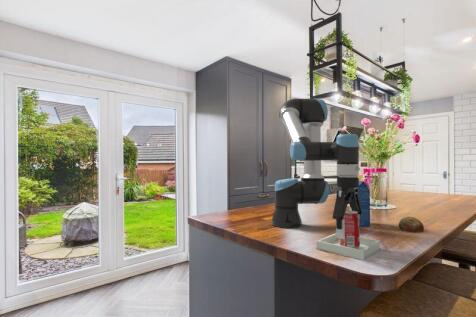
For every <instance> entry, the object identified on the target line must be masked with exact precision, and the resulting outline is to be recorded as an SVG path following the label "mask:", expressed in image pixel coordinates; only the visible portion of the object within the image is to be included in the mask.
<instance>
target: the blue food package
mask: <svg viewBox="0 0 476 317" xmlns="http://www.w3.org/2000/svg"><path fill="white" fill-rule="evenodd" d="M357 177H358V178H359V187H357V188H355V189H358V194H359V199H360V204H361V209H362V211H361V212H362V214H359V228H360V227H362V228H363V227H364V228H365V227H366V228H370V227H371V202H370V200H371V194H370V188H369V186H368V185H367V184H366V183H365V182H364V176H363V175H360V174H359V175H358V176H357Z"/></svg>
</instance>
